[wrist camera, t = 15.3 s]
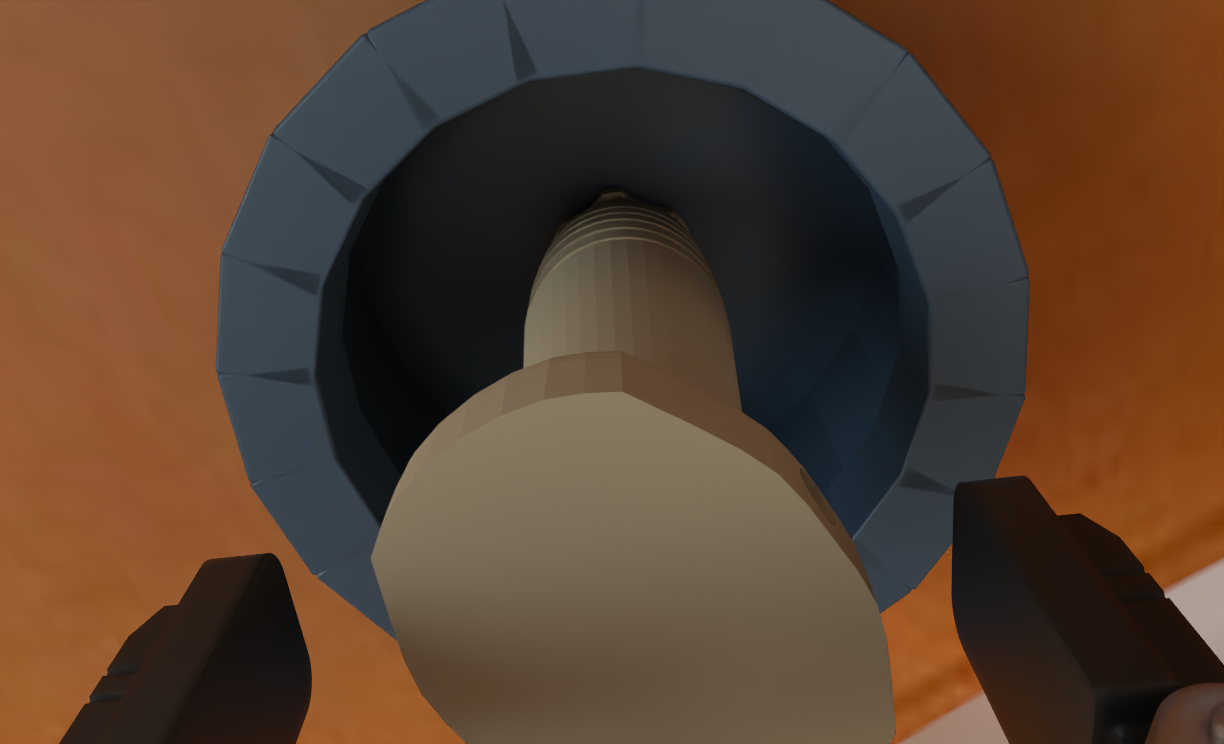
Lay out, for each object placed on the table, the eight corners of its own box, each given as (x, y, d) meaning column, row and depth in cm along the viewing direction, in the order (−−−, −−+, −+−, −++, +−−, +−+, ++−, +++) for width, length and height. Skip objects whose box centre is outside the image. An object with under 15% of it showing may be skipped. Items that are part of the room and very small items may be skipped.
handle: (619, 399, 27) (635, 909, 13) (460, 202, 25) (279, 561, 11) (777, 294, 26) (978, 730, 12) (625, 78, 23) (656, 305, 10)
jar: (273, -16, 23) (106, 17, 15) (894, -100, 22) (1048, -109, 15) (400, 511, 29) (324, 734, 21) (901, 456, 28) (1015, 662, 20)
